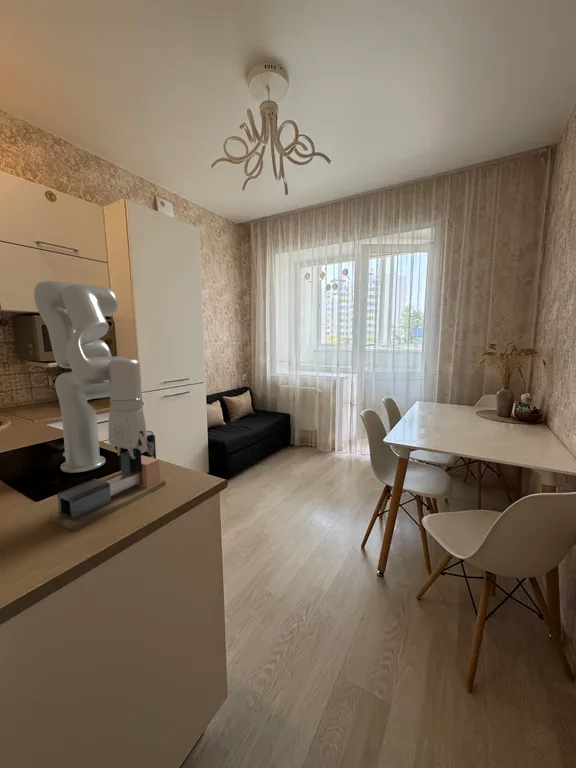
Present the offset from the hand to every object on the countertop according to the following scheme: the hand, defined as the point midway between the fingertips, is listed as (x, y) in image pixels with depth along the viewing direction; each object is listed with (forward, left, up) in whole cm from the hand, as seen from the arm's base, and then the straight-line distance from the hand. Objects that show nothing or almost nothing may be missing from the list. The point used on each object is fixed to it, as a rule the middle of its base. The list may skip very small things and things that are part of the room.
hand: (130, 469), depth 88 cm
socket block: (0, +4, -5) cm, 7 cm away
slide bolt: (0, -3, -4) cm, 5 cm away
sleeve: (0, -13, -5) cm, 14 cm away
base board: (0, -5, -7) cm, 9 cm away
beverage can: (-10, +13, -7) cm, 18 cm away
